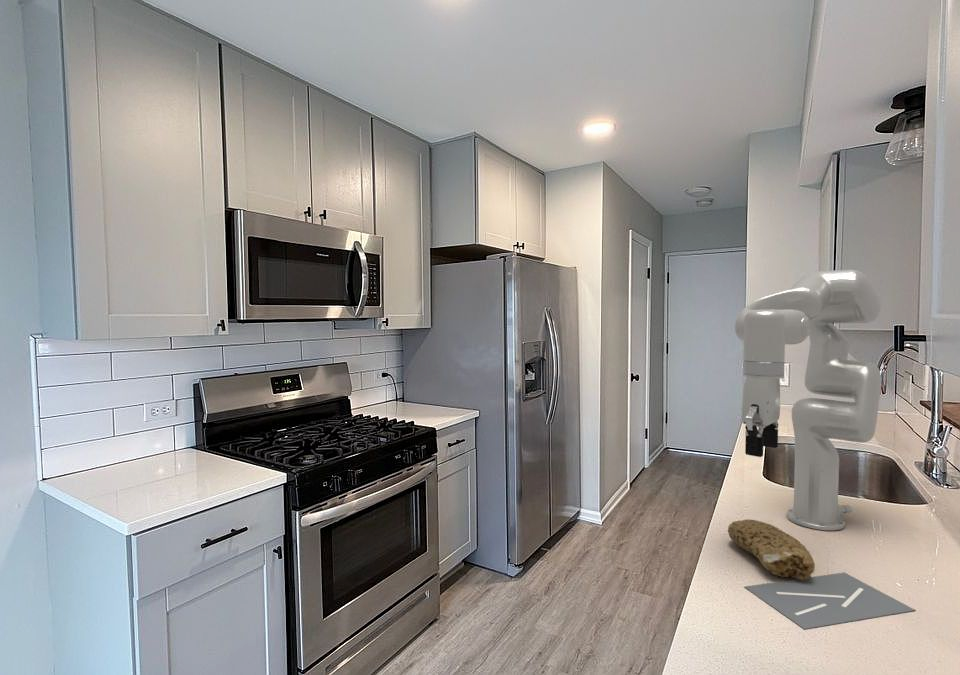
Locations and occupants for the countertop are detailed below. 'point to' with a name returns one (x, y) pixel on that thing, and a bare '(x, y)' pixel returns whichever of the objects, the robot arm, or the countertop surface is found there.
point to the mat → (827, 600)
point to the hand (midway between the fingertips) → (761, 450)
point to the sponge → (773, 548)
